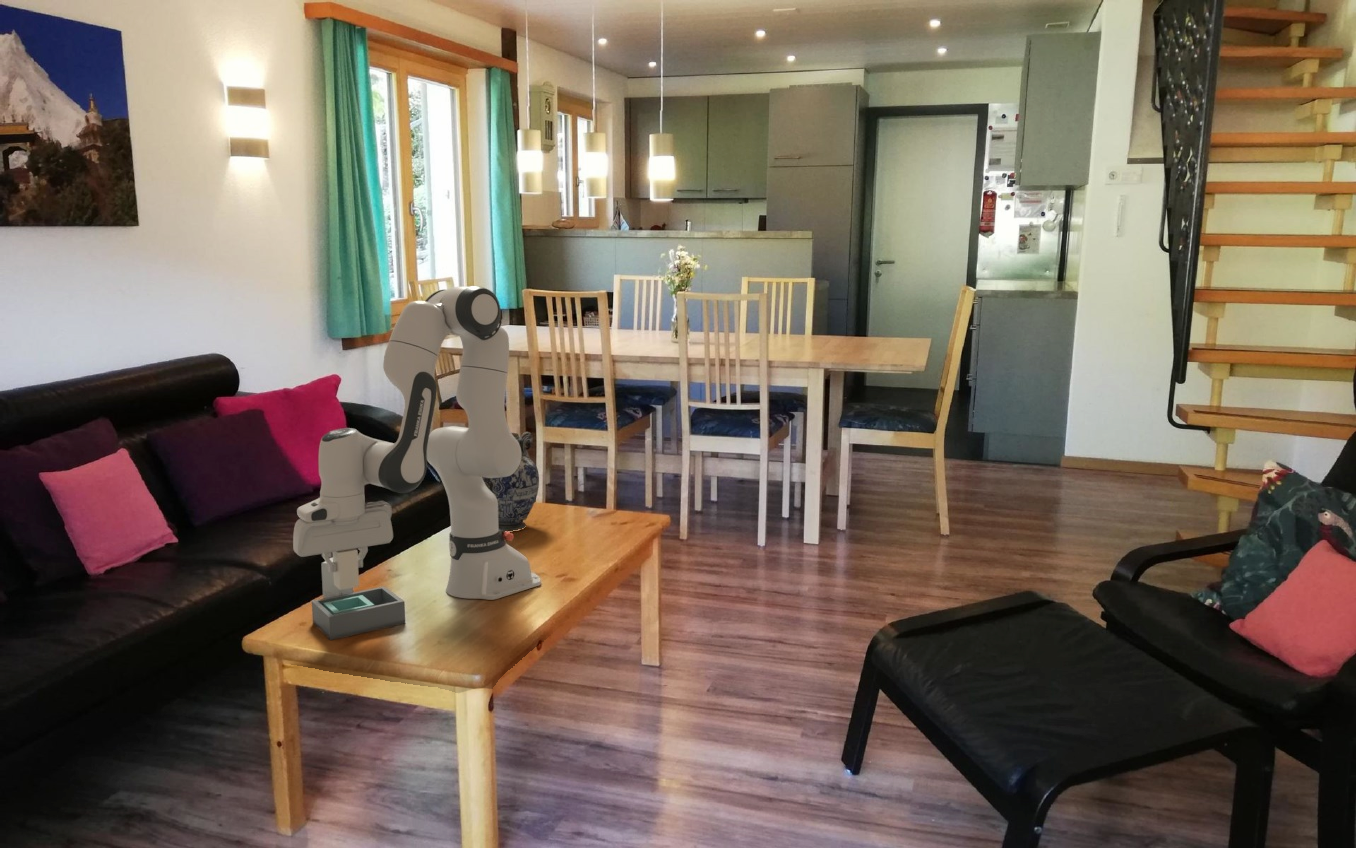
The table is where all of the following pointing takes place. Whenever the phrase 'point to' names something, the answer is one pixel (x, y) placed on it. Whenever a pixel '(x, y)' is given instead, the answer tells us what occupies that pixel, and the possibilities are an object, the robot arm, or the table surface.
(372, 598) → the organiser box
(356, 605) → the inlet socket
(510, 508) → the decorative vase
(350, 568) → the plug
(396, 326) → the robot arm
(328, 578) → the skincare box
